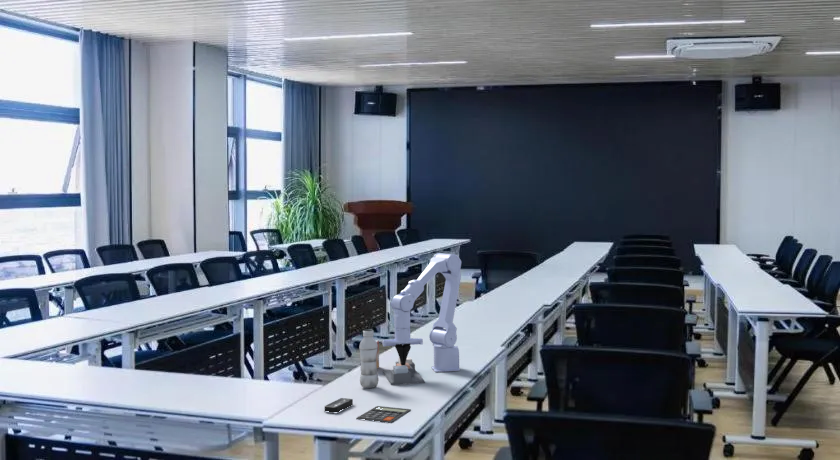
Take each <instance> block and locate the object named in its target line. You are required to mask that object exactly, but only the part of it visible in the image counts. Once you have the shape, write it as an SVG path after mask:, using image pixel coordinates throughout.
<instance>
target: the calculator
mask: <svg viewBox="0 0 840 460" xmlns="http://www.w3.org/2000/svg"><path fill="white" fill-rule="evenodd" d="M378 407H380V409H382V408H383V409H382V410H380V409H376V408H378ZM409 412H411V409H410V408H402V407H394V406H393V407H391V406H390V407H389V406H381V405H377V406H375V407H373V408H371V409H369V410H368V411H366V412H364V413H363V414H361V415H359V416H357V417H356V420H357V419H365V420H374V421H373V422H375V421H380V422H379V423H385V422H388V423H387V424H392V423H394V422H395V421H398V420H399V419H400V418H402V417H403V416H405V415H406V414H407V413H409ZM365 420H364V421H365Z"/></svg>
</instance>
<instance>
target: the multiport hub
mask: <svg viewBox="0 0 840 460" xmlns="http://www.w3.org/2000/svg"><path fill="white" fill-rule="evenodd" d="M353 399H354V398H344V397H340V398H338V399H336V400H334V401H332V402H330V403H327V404H325V405H324V412H325V411H329V412H339V411H340V410H342V409H345V408H347V407H349V406H350V407H352V406H353V405H354V402H353ZM351 405H352V406H351ZM350 407H349V408H350ZM347 409H348V408H347ZM345 410H346V409H345ZM339 413H340V412H339Z"/></svg>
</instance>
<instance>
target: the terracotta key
mask: <svg viewBox="0 0 840 460" xmlns="http://www.w3.org/2000/svg"><path fill="white" fill-rule="evenodd" d="M405 365H406V366H407V367H408V369H409V368H410V365H409V364H408V363H405ZM395 366H404V365H401V363H400V364H396V363H395Z"/></svg>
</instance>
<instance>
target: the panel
mask: <svg viewBox="0 0 840 460" xmlns="http://www.w3.org/2000/svg"><path fill="white" fill-rule="evenodd" d="M396 364H399V363H398V361H395V365H396ZM395 365H393V366H392V367H393V369H385V370H382V374H383V376H385V378H386V379H387V381H388V383H389V384H390V385H391V386H393V385H395V386H396V385H398V386H399V385H410V384H426V383H425V382H426V381H425V379H424V378H423V377H422V376H421V375H420V374H419V371H417V370H416V364H415V362H413V361H412V364H409V365H410V368H409V369H408V373H399V374H395V373H394V366H395Z"/></svg>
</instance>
